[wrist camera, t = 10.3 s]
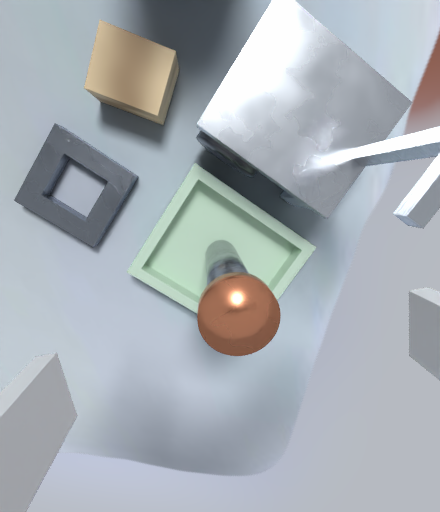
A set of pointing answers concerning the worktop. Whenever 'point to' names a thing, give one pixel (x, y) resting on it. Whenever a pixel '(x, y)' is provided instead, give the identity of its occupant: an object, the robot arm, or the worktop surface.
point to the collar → (49, 170)
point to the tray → (213, 229)
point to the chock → (132, 73)
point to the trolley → (313, 117)
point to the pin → (235, 305)
